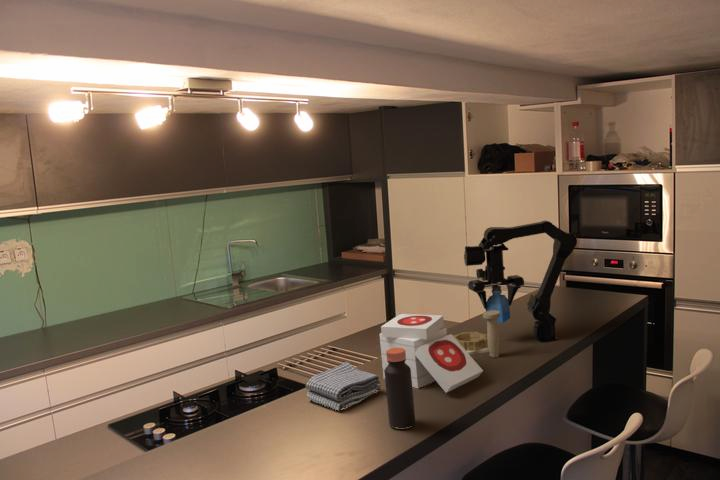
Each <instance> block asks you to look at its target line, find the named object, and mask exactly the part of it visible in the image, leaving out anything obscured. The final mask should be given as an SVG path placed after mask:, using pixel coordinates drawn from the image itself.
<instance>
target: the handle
mask: <svg viewBox="0 0 720 480" xmlns="http://www.w3.org/2000/svg"><path fill="white" fill-rule="evenodd" d="M499 317H500V311H497V310H491V311H487V312H486V311H484V312H483V313H482V319H484V320H485V321H486V320H487V321H486V331H487V333H486V334H487V342H488V350H489V352H488V353H489V357H490V358H494V359H495V358H499V356H500V348H501V347H500V346H501V344H500V334H499V326H498V322H497V319H498V318H499Z"/></svg>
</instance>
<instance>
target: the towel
mask: <svg viewBox="0 0 720 480" xmlns="http://www.w3.org/2000/svg"><path fill="white" fill-rule="evenodd" d="M381 386H382V385H381V382H380V376H379V375H378V374H374V373H372V372H367V371H364V370H360V369H359V368H357V367H356V366H354V365H353V364H351V363H350V362H349V361H346V362H344V363H342V364H339V365H338V366H335V367H333V368H330V369H328V370H325V371H323V372H321V373H318V374H315V375H313V376H311V377H310V378H309V380H308V381H307V382H306V384H305V388H306V389H307V390H309V391H307V393H306V398H307V399H308V400H310V401H311V400H312V401H311V402H314V403H316V404H318V403H319V405H321V404H322V405H321V406H323V405H324V407H326V406H327V407H326V408H329V407H330V408H329V409H331V408H332V409H331V410H334V409H335V410H334V411H336V410H338V411H337V412H340V411H339V410H341V409H342V408H346V407H349V406H351V405H353V406H355V405H357V404H359V403H361V402H363V401H364V400H366V399H368V398H369V397H368V396H370V395H372V394H373V393H374V392H376V390H380V391H381ZM372 396H373V395H372ZM367 397H368V398H367ZM370 397H371V396H370ZM365 398H366V399H365ZM362 400H363V401H362ZM354 404H355V405H354ZM351 407H352V406H351ZM349 408H350V407H349Z"/></svg>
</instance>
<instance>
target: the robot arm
mask: <svg viewBox="0 0 720 480" xmlns="http://www.w3.org/2000/svg"><path fill="white" fill-rule="evenodd" d="M483 232H484V233H483V238H482V239H481V240H480V242H479V244H478V245H472V246H470V245H467V246H464V254H463V259H464V265H465V267H469V266H472V267H473V266H481V265H483V264H484V263H485V262H486V265H485V269H483V268H477V269H475V270H476V271H475V272H476V279H475V280H469V281H468V282H467V284H468V285H467V286H468V289H469V290H470V291H472V292H474V293H476V294H477V296H478V298H479V299H480V302H481V305H482V306H483V308H484V309H485V310H486V306H487V303H486V302H487V291H486V290H485V289H486V288H489V287H492V286H503V285H506V288H507V299H508V300H509V306H510V307H511V306H512V303H513V301H514V298H515V296H516V294H517V292H518V290H519V289H521V288H522V286H525V279H524V278H523V277H522V276H520V275H517V274H514V275H507V277H506V278H505V270H506V267H505V266H504V254H503V253H504V251H509V247H508V246H506V244H504V243H506V242H509V241H510V240H513V239H518V238H524V237H529V236H530V237H531V236H535V235H540V234H541V235H542V234H546V235H547V236H548V237H550V238H551V239H552V240H553V245H552V257H551V259H550V262H549V263H548V267H547V268H546V271H545V273H544V277H543V279H542V282H541V285H540V287H539V289H538V292H537V293H535V295H533V294H530V296H529V299H528V302H527V303H526V306H527V312H528V313H529V315H530V316H531V317H532V318H533V319H534V320H536V321H534V323H533V324H534V326H533V328H532V329H533V336H532V338H533V339H535V340H537V342H540V343H545V342H546V343H547V342H551V341H558V340H559V338H558V337H556V336H557V335H556V321H557V318H556V317H554V315H552V314H551V313H550V311H551V303H552V302H551V301H552V294H553V292H554V290H555V287H556V286H557V282H558V279H559V277H560V274H561V273H562V269H563V267H564V265H565V262H566V260H567V259H568V258H569V257H570V255H571V254H572V253H573V252H574V250H575V248H576V246H577V245H578V239H577V237H576V235H574V233H573V234H572V233H570V232H568V231H564V230H562V229H561V228H559V227H558V226H556V225H555V224H554V223H552V222H551V221H548V220H542V221H537V222H533V223H527V224H522V225H516V226H511V227H509V226H507V227H506V226H505V227H504V226H490V227H488V228H486V229H485V231H483ZM479 279H480V280H479Z"/></svg>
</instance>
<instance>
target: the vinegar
mask: <svg viewBox="0 0 720 480" xmlns="http://www.w3.org/2000/svg"><path fill="white" fill-rule="evenodd" d="M386 355H387V362H388V363H389V365H388V366H387V367H386V368H385V371H384V373H385V379H384V382H385V383H384V384H385V391H386V400H387V401H386V404H387V411H388V425H389V426H390V425H391V426H393V427H398V428H406V427H410V426H413V425H414V424H415V425H416V415H415V414H416V412H415V403H414V401H415V400H414V394H413V393H414V391H413V389H414V388H412V378H411V369H410V367H409V366H408V365H407V364H406V363H405V361H406V353H405V349H403V348H391V349H388V350H387V351H386ZM415 425H414V426H415ZM391 426H390V427H391ZM414 426H413V427H414Z"/></svg>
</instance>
